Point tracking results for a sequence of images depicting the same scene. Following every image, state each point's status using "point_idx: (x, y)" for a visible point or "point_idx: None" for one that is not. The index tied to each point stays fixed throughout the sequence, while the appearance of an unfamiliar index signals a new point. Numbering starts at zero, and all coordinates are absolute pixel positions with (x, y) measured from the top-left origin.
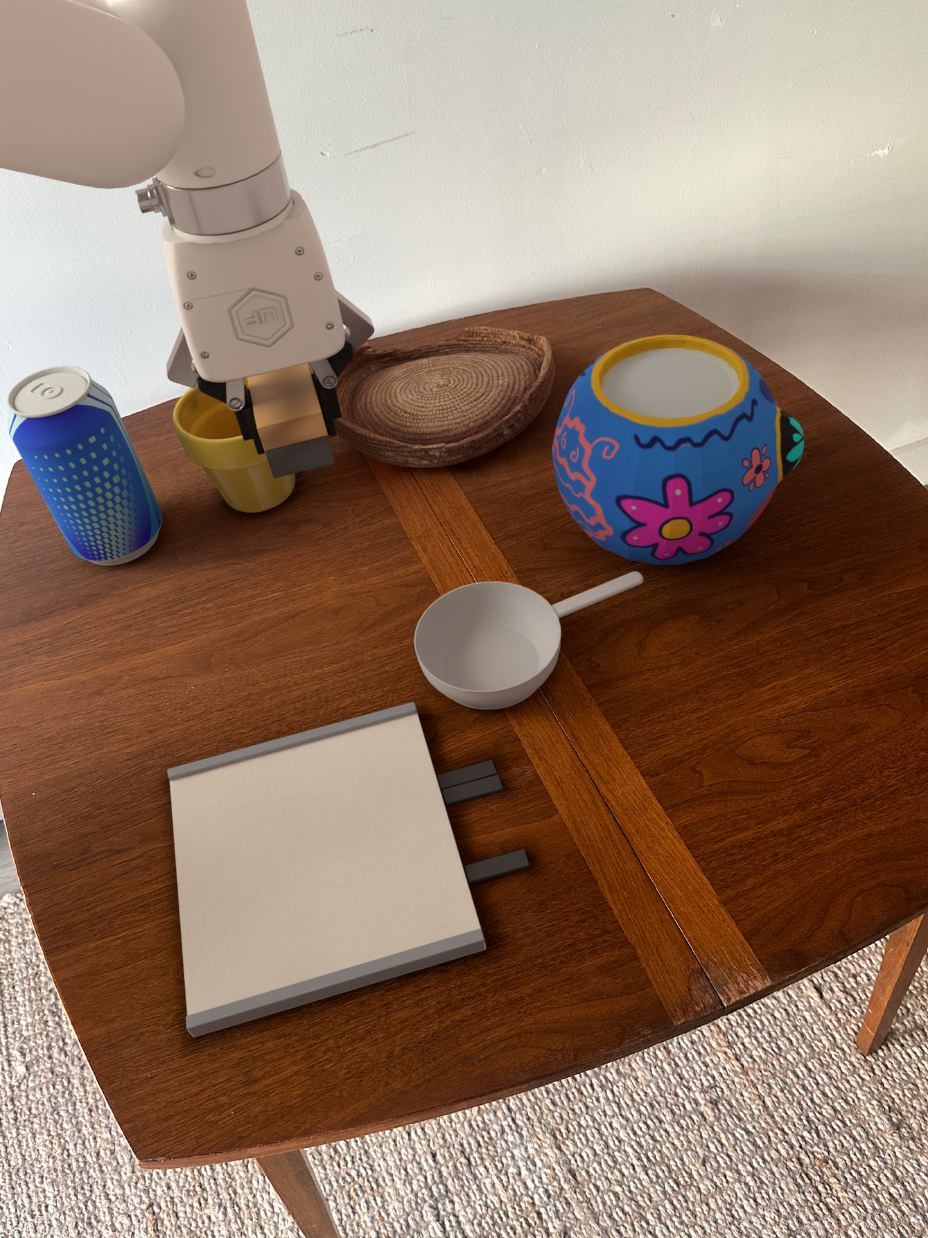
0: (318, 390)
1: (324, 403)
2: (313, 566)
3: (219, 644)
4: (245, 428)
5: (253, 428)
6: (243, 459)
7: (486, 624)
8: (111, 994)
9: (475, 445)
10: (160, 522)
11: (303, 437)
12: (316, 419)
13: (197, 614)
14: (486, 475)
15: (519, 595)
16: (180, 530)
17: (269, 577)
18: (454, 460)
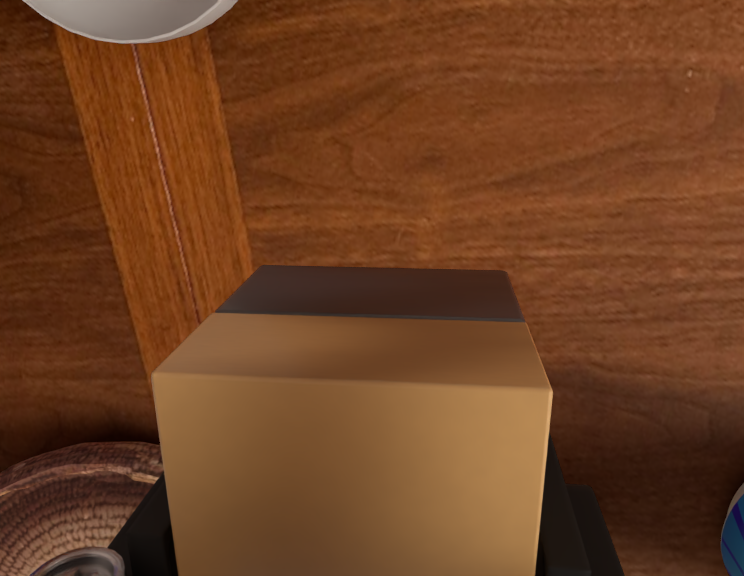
0: (167, 562)
1: None
2: None
3: (686, 154)
4: (579, 520)
5: (548, 488)
6: None
7: (147, 5)
8: None
9: (80, 454)
10: (732, 514)
11: (320, 323)
12: (203, 353)
13: (710, 256)
14: (102, 405)
15: (43, 2)
16: (685, 493)
17: (543, 303)
18: (134, 443)
